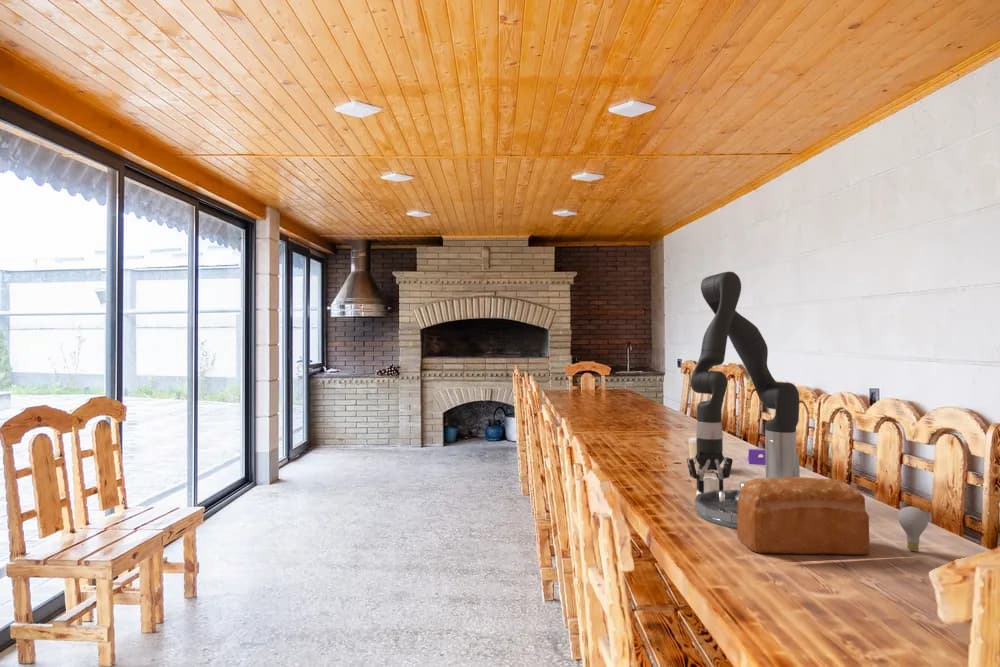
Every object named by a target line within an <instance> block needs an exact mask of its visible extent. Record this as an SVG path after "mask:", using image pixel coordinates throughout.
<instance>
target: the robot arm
mask: <svg viewBox="0 0 1000 667" xmlns="http://www.w3.org/2000/svg"><path fill="white" fill-rule="evenodd" d="M700 290H701V294H702V297H703V298H704V301H705V302H706V304H707V305H708V307H709V308H710V310H711V311H712V312H713V313H714V317H713V319H712V320H711V322H710V323H709V325H708V327H707V328H706V329H705V332H704V335H703V338H702V344H701V350H700V355H699V359H698V361H697V362H696V363H697V364H696V365H695V367H694V370H693V372H692V374H691V377H690V387H691V389H692V391H693V392H695V393H697V394H705V395H706V394H707V395H708V394H709V395H711V397H710V399H709V400H705V401H700V402H698V403H697V406H696V430H695V432H696V435H695V437H696V444H697V454H696V456H695V457H694V458H690V457H687V458H686V463H687V467H688V471H689V472H688V473H689V476H690V477H691V478H693V479H695V480H696V489H697V490H696V491H698V490H699V492H700V493H704V481H703V478H704V477H705V475H706V474H707V473H706V472H707V470H711V469H712V470H714V471H713V472H714V474H715V478H718V479H719V490H724V480H725V479H728V478H730V477H731V476H730V474H731V470H732V466H733V461H734V460H733V459H732V458H731V457H728V456H726V457H725V456H724V455H723V452H724V451H723V450H724V449H723V448H724V447H723V445H724V444H723V443H724V441H723V437H724V434H723V424H722V407H723V402H724V398H725V395H726V392H727V389H728V377H727V375H726V374H725V373H724V372H722V371H720V370H718V371H717V370H710V369H711V368H713V367H717V366H720V365H722V364H723V363H724V361H725V358H726V349H727V343H728V339H729V340H730V342H731V345H732V346H733V348H734V350H735V351H736V353H737V355H738V357H739V358H740V360H741V362H742V364H743V366H744V367H745V370H746V371H747V373H748V376H749V377H750V380H751V382H752V384H753V386H754V389H755V391H756V394H757V396H758V398H759V400H760V402H761V404H762V405H763V406H764V407H765V408H768V409H770V410H775V412H774V413H775V414H774V417H773V418H771V419H768V420H766V421H765V425H764V428H765V429H764V431H765V433H764V435H765V437H764V438H765V439H764V440H765V444H764V446H765V447H764V448H765V449H764V450H765V452H766V465H765V478H776V479H777V478H785V477H801V476H800V474H801V473H800V470H801V469H800V455H799V454H797V426H798V423H799V419H800V417H799V416H800V394H799V390H798V387H796V385H794V384H793V383H791V382H783V381H777V380H775V378H774V377H773V375H772V373H771V372H770V370H769V367H768V354H769V349H768V345H767V343H766V340H765V339H764V337H763V335H762V333H761V331H760V329H759V328H758V327H757V326H756V325H755V324H754V323H753V322H751V321H750V320H749V319H747V318H746V317H744V316H743V315H741V314H740V313H739V312H738V311H737V310H736V309H737V305H738V302H739V300H740V296H741V294H742V293H741V292H742V282H741V279H740V277H739V276H738V274H737V273H735V272H734V271H724V272H721V273H717V274H713V275H710V276H705V277H704V278H703V279H702V281H701V283H700ZM696 461H697V462H698V463H699V466H698V469H697V470H698V472H696V469H695V465H696ZM722 463H723V467H722V468H721V464H722Z"/></svg>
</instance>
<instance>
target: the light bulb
mask: <svg viewBox="0 0 1000 667" xmlns="http://www.w3.org/2000/svg"><path fill="white" fill-rule="evenodd" d="M897 519H898V523H899V524H900V525H899V526H900V527H901V528H902V529H903V531H904V532H905V533H904V534H906V541H907V547H906V548H907V549H908V550H910V551H911V553H912V552H913V553H915V552H918V551H919V549H920V548H919V546H920V545H919V543H920V537H921V536H922V533H924V532H925V529H927V527H928V524H929V521H928V520H929V519H928V516H927V515H926V512H924V511H923V510H922V509H921V508H919V507H915V506H905V507H903V508H901V509H900V510H899V512H898V514H897Z"/></svg>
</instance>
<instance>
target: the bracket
mask: <svg viewBox="0 0 1000 667" xmlns="http://www.w3.org/2000/svg"><path fill="white" fill-rule="evenodd" d="M760 455H762V457H761V456H760ZM747 460H748V465H755V466H756V465H760V466H766V452H765V449H760V448H748V454H747Z"/></svg>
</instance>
